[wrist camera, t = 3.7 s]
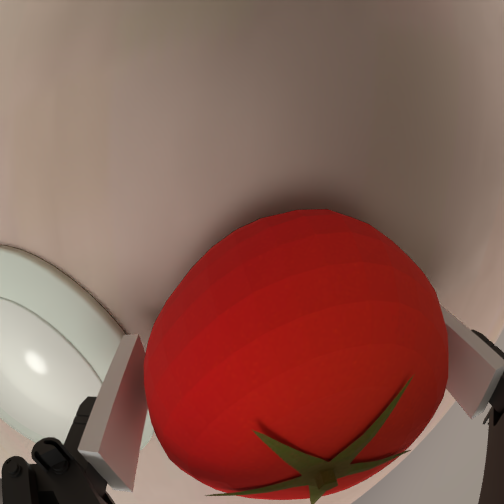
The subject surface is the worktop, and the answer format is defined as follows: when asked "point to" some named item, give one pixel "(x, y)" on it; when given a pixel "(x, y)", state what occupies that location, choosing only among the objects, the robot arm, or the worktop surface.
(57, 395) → the plate
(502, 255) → the worktop surface
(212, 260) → the tomato
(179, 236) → the worktop surface
